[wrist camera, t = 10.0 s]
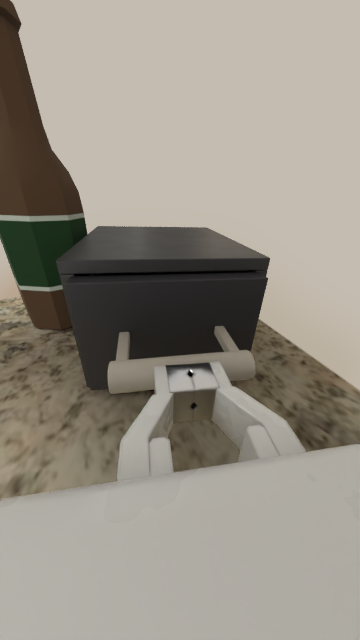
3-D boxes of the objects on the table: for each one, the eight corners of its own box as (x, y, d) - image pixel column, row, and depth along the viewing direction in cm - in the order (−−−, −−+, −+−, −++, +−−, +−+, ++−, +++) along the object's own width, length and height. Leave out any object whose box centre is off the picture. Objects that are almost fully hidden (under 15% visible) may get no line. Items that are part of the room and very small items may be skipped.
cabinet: (243, 372, 18) (270, 257, 14) (87, 387, 16) (55, 260, 12) (200, 300, 31) (207, 227, 26) (108, 304, 29) (97, 226, 24)
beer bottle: (12, 320, 25) (-131, -36, 13) (71, 296, 31) (10, 40, 19) (59, 339, 22) (-73, -102, 10) (113, 309, 28) (73, 14, 16)
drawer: (274, 424, 13) (319, 310, 9) (75, 453, 11) (29, 326, 8) (201, 301, 28) (206, 238, 25) (110, 305, 27) (101, 238, 23)
